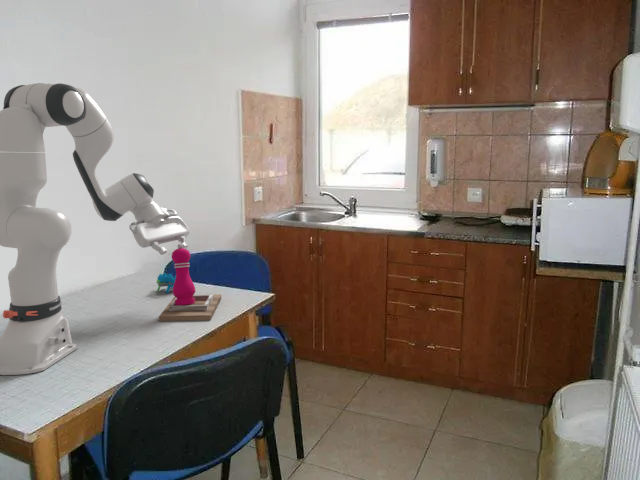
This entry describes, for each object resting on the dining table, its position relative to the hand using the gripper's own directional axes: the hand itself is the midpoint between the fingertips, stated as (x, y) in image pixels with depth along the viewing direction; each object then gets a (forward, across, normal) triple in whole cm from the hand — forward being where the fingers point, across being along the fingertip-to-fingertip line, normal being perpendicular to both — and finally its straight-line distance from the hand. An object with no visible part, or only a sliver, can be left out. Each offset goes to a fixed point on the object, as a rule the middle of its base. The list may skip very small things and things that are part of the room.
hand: (175, 250), depth 174 cm
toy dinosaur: (+2, +12, +26) cm, 29 cm away
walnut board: (+18, 0, +9) cm, 20 cm away
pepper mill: (+16, -2, +8) cm, 18 cm away
